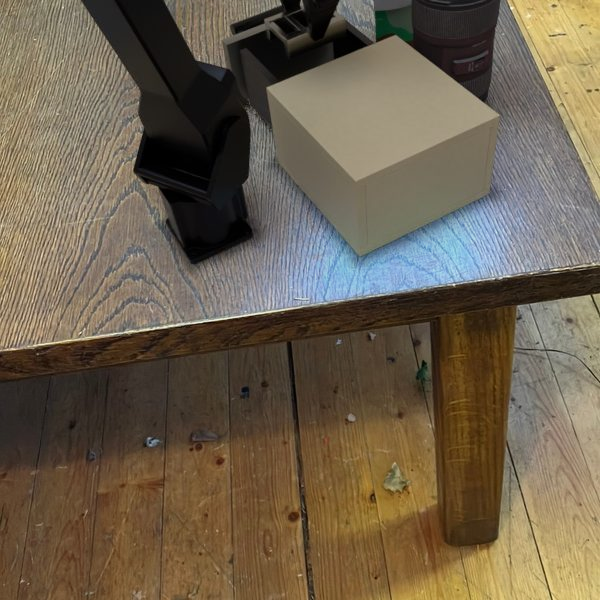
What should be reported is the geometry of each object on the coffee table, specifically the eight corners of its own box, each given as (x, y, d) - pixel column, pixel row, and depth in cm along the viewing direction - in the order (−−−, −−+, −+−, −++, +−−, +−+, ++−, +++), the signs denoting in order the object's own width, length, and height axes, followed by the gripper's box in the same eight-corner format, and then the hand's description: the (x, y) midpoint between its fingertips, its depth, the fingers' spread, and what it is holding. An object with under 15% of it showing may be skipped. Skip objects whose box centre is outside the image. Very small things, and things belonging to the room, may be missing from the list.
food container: (430, 79, 80) (434, -8, 72) (375, 77, 81) (373, -8, 74) (440, 19, 88) (444, -66, 80) (389, 18, 89) (388, -65, 81)
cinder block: (289, 59, 69) (287, 40, 68) (266, 37, 72) (263, 19, 71) (346, 36, 71) (345, 17, 69) (322, 16, 74) (320, -3, 72)
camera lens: (495, 89, 78) (511, -51, 66) (480, 136, 73) (494, -6, 62) (421, 81, 80) (423, -56, 69) (402, 126, 75) (401, -12, 64)
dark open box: (213, 75, 83) (201, 18, 78) (312, 36, 86) (307, -21, 81) (296, 169, 71) (288, 109, 66) (407, 120, 75) (407, 59, 69)
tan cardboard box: (277, 162, 74) (265, 87, 67) (395, 111, 77) (395, 34, 70) (359, 257, 64) (355, 181, 58) (489, 194, 68) (500, 115, 61)
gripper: (153, -154, 62) (192, 16, 74) (248, -82, 51) (276, 104, 63) (267, -189, 65) (287, -20, 77) (381, -127, 54) (384, 59, 66)
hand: (304, 27), depth 71 cm, fingers closed on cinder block, 5 cm apart
